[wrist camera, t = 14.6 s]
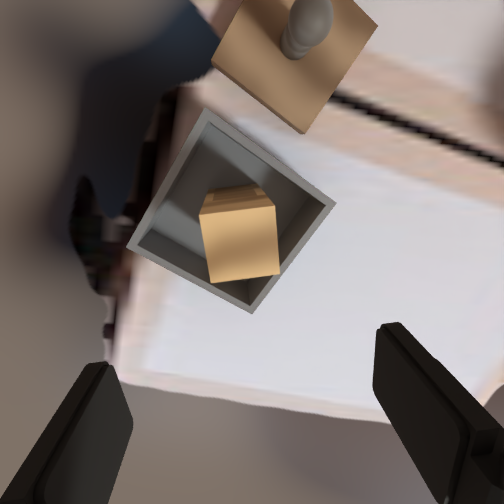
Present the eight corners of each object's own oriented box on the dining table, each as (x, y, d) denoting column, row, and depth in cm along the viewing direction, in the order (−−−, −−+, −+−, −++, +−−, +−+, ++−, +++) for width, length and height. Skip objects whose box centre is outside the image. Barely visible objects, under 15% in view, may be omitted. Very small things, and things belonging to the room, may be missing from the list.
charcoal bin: (209, 114, 31) (205, 106, 25) (316, 192, 36) (336, 203, 29) (144, 228, 35) (126, 247, 29) (247, 286, 39) (252, 314, 33)
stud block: (278, -57, 27) (303, -153, 18) (368, 33, 30) (426, -12, 21) (211, 65, 30) (206, 32, 21) (300, 134, 33) (327, 130, 24)
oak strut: (208, 189, 33) (198, 215, 21) (257, 183, 34) (275, 205, 21) (215, 235, 35) (210, 283, 23) (261, 229, 36) (280, 274, 24)
